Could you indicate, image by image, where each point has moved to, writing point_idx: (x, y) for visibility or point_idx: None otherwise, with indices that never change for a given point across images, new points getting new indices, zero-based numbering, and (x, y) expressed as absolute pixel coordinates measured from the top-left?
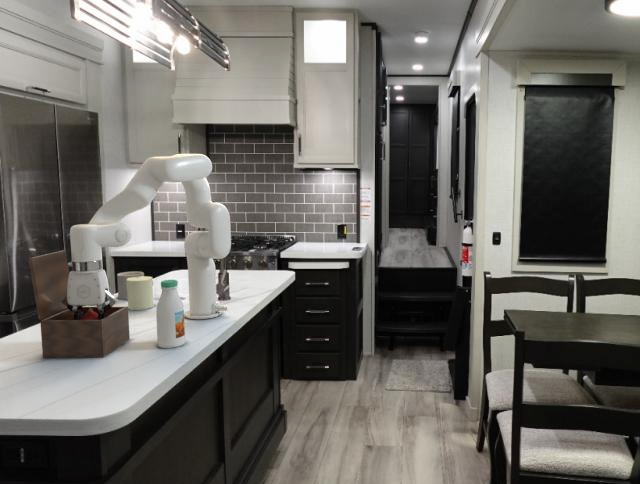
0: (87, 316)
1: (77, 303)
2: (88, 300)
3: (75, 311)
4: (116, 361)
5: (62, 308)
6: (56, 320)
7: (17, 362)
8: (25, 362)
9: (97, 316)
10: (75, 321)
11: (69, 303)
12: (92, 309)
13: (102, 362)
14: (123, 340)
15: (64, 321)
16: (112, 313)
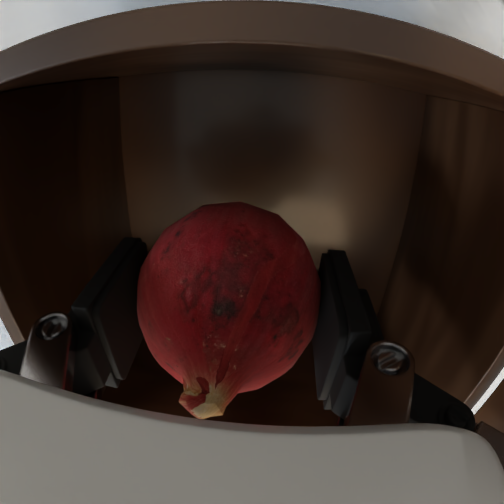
0: (208, 300)
1: (321, 463)
2: (48, 480)
3: (370, 367)
4: (43, 32)
5: (485, 417)
6: (496, 69)
7: (501, 56)
8: (474, 43)
9: (143, 326)
10: (201, 4)
11: (473, 441)
12: (183, 402)
13: (90, 7)
14: None
15: (383, 19)
16: (13, 321)
